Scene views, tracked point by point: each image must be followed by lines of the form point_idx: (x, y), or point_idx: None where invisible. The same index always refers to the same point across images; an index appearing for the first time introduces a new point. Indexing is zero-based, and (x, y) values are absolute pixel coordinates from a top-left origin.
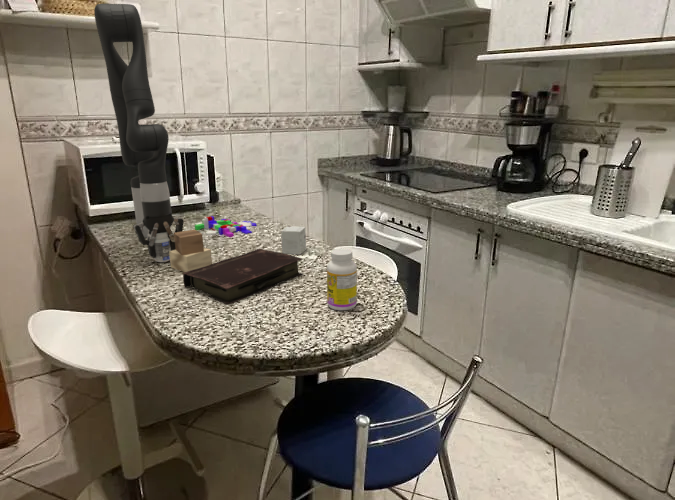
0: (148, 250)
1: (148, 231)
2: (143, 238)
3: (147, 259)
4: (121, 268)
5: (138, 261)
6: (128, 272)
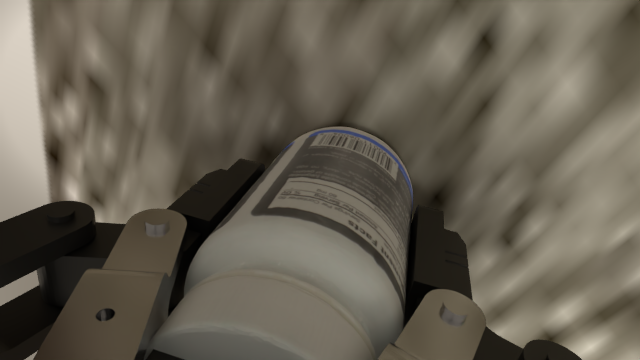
0: (187, 193)
1: (62, 315)
2: (20, 345)
3: (263, 30)
4: (48, 87)
5: (184, 21)
6: (78, 200)
